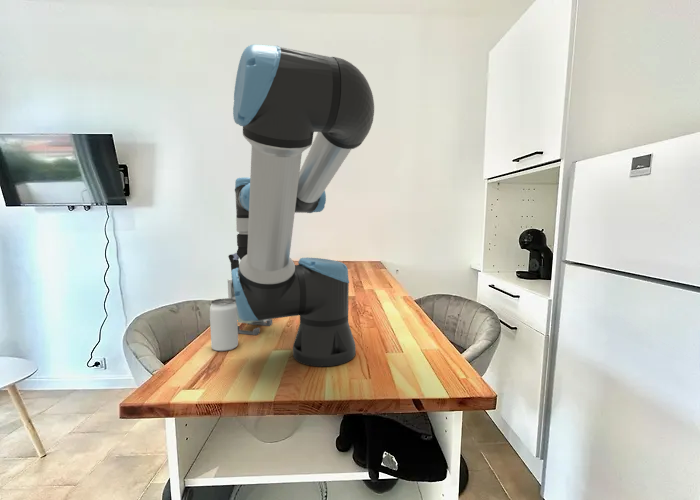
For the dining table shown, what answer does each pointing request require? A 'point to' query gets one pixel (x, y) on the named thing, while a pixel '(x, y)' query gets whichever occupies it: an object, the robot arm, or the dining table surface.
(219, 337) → the can
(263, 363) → the dining table surface
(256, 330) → the cabinet
